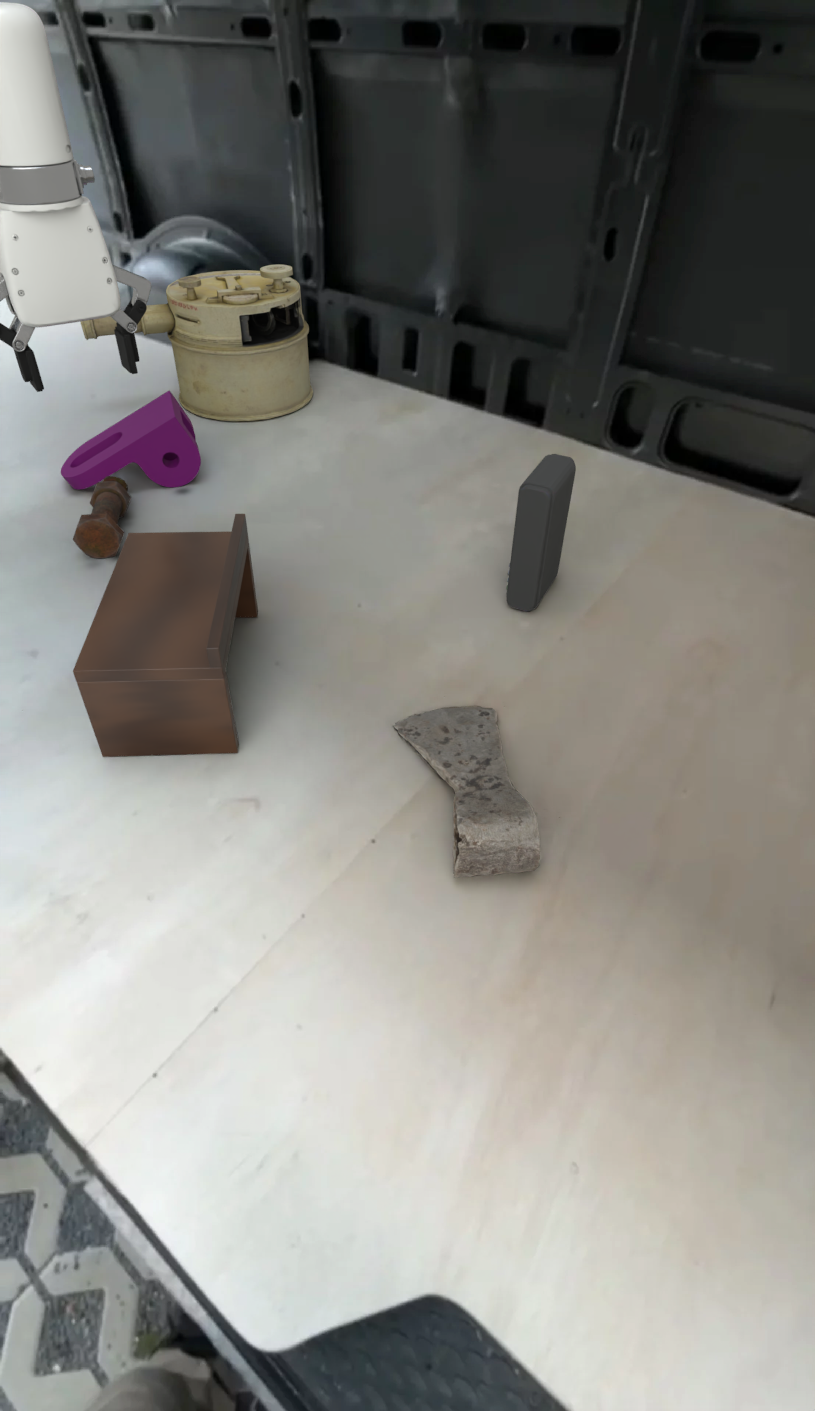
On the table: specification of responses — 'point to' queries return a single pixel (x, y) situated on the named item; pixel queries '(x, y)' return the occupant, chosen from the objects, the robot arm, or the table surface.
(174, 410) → the mounting bracket
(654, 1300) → the table surface
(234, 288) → the mechanical device
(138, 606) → the shelf
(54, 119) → the robot arm
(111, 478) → the bolt
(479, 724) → the axe head
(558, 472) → the card reader
